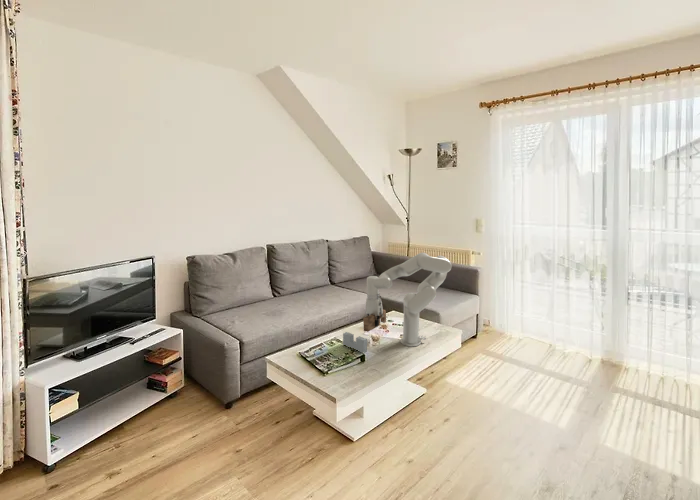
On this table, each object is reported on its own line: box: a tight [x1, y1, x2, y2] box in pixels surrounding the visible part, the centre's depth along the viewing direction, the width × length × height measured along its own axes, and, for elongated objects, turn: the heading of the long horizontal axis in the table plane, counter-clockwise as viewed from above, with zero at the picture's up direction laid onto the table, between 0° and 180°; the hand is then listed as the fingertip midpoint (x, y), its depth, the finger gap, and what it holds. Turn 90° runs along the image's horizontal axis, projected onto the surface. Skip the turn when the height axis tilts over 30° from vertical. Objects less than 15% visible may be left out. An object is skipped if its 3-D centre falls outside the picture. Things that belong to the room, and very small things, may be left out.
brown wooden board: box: [362, 309, 387, 333], centre depth 240 cm, size 19×3×8 cm, turn 139°
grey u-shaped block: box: [342, 331, 368, 354], centre depth 232 cm, size 16×3×8 cm, turn 50°
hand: (374, 324), depth 240 cm, fingers closed on brown wooden board, 3 cm apart
